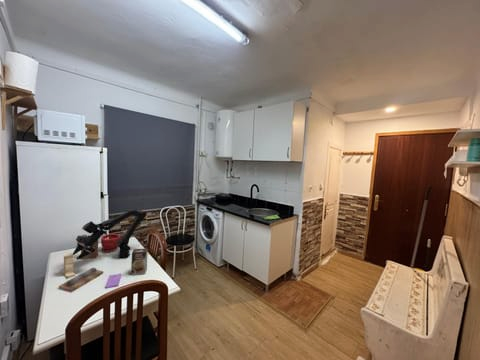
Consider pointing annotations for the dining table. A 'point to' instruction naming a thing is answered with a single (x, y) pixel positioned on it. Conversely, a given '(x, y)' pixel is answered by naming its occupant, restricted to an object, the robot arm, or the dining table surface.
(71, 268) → the oak T piece
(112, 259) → the dining table surface
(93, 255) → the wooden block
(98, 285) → the dining table surface
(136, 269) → the coffee box
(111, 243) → the plant pot
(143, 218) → the robot arm
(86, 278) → the stand
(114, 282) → the sponges
